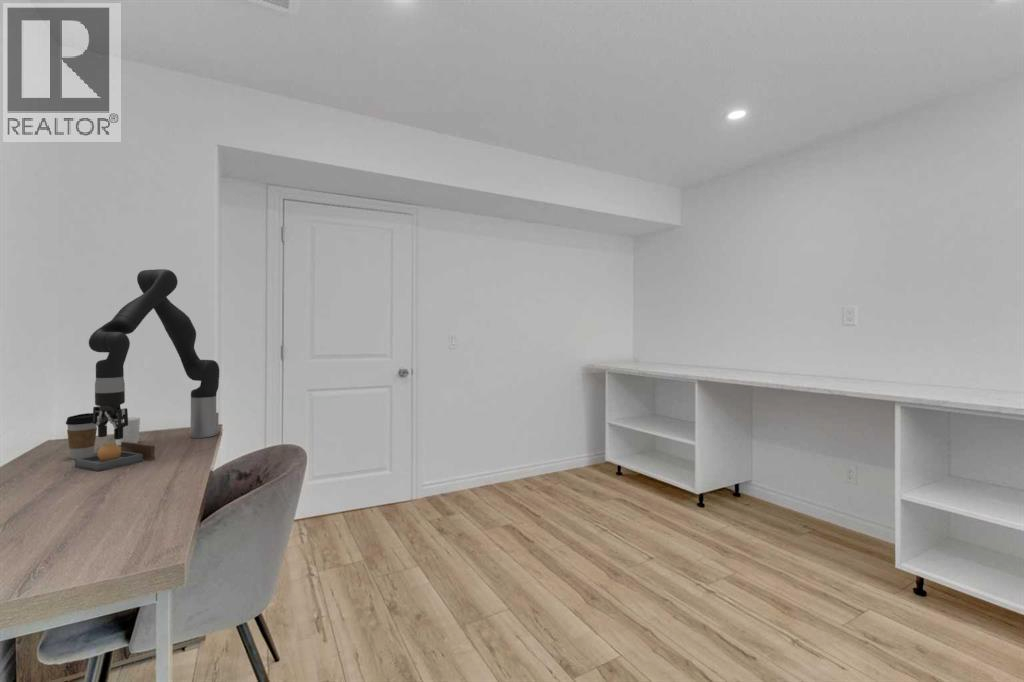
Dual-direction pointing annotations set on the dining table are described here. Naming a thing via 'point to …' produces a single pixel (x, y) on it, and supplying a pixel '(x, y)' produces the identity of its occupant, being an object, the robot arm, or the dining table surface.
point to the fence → (139, 449)
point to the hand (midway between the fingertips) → (110, 437)
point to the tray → (99, 465)
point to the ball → (109, 452)
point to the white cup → (130, 431)
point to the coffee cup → (81, 435)
